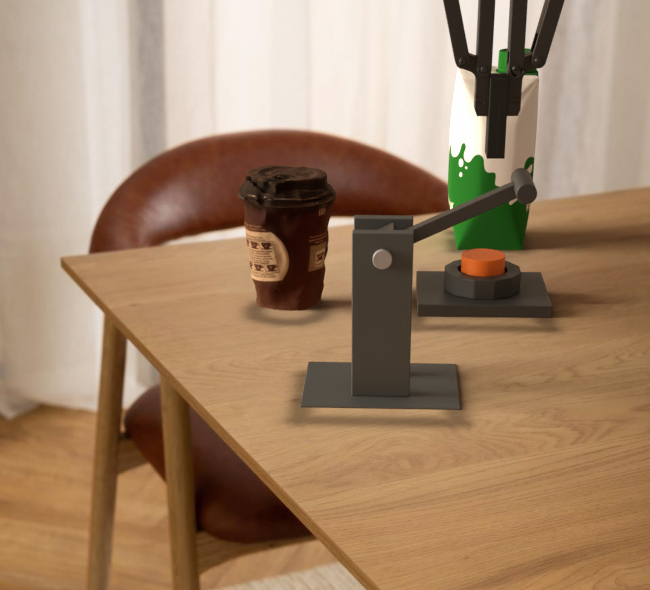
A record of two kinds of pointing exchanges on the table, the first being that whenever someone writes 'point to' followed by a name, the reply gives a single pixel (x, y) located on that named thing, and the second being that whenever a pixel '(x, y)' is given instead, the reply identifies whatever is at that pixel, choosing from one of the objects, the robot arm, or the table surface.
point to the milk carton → (490, 163)
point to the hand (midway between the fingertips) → (494, 154)
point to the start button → (483, 262)
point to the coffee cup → (287, 234)
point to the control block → (482, 294)
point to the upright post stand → (381, 332)
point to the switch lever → (476, 206)
